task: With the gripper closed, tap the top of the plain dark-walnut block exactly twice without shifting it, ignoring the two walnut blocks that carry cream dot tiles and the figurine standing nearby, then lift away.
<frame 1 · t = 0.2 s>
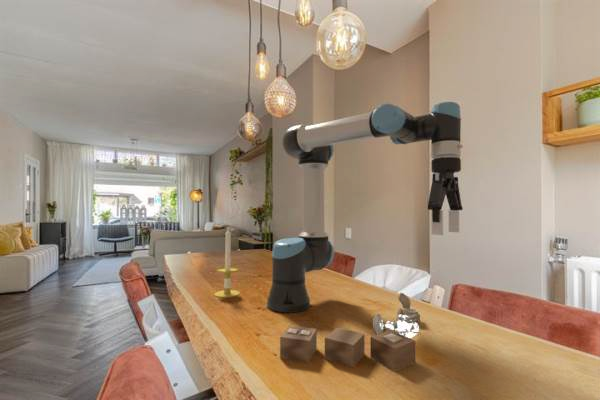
hand: (446, 233, 85), 28 cm above the table, fingers open, 13 cm apart
bone: (408, 323, 92), on the table
figurine: (395, 337, 82), on the table
dot block one: (392, 360, 69), on the table
dot block two: (298, 354, 72), on the table
plain block: (344, 357, 70), on the table
candle: (227, 294, 121), on the table
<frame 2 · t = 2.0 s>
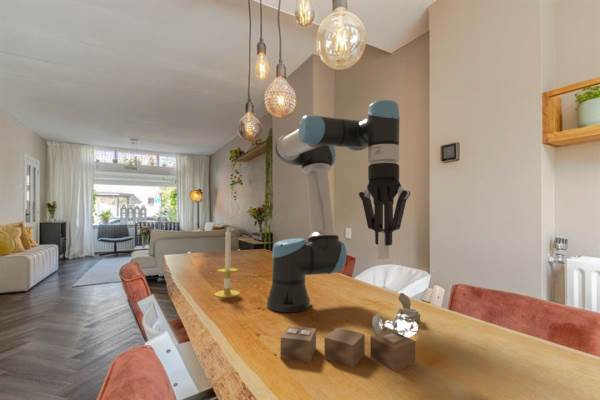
hand: (383, 258, 75), 22 cm above the table, fingers closed
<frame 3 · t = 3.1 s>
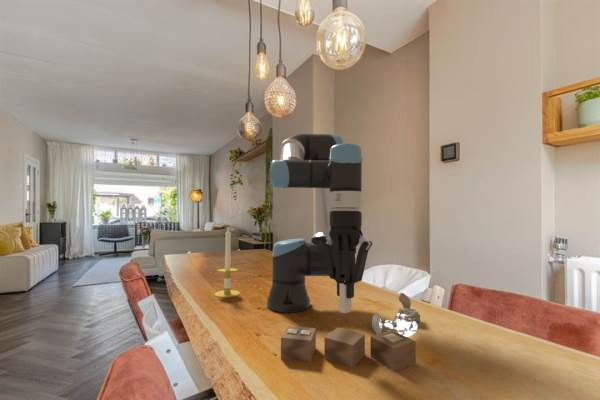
hand: (345, 311, 70), 11 cm above the table, fingers closed
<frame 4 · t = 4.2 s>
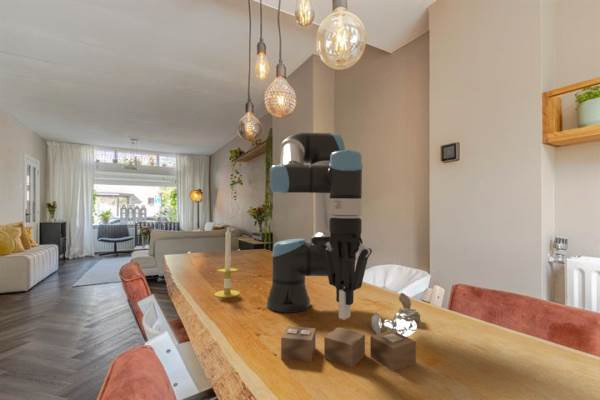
hand: (344, 317, 71), 9 cm above the table, fingers closed
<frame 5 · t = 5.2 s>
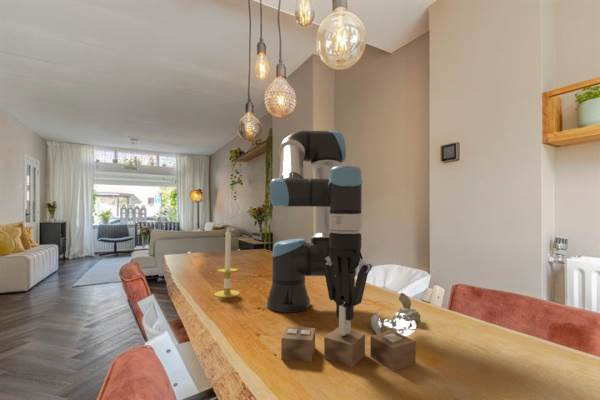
hand: (344, 332, 71), 5 cm above the table, fingers closed
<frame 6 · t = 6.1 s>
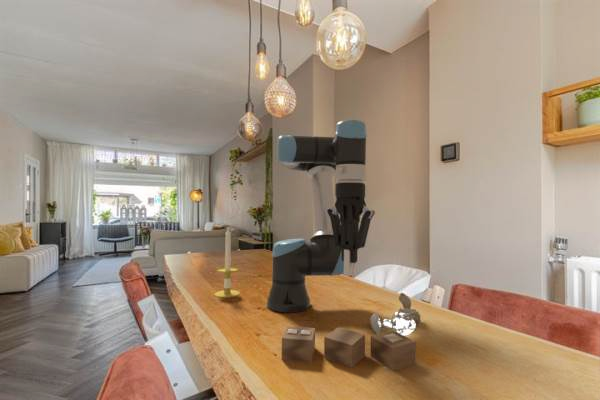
hand: (349, 274, 77), 18 cm above the table, fingers closed
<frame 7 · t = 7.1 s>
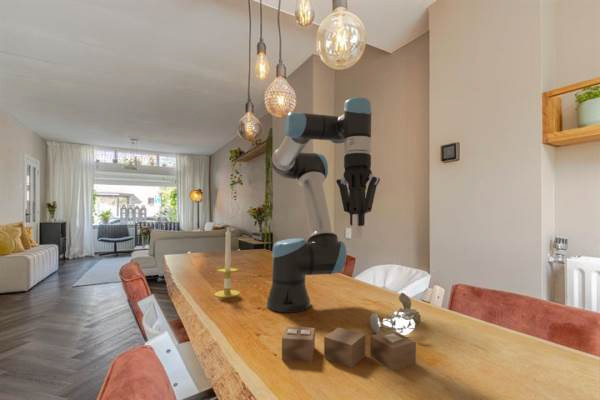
hand: (357, 237, 85), 26 cm above the table, fingers closed
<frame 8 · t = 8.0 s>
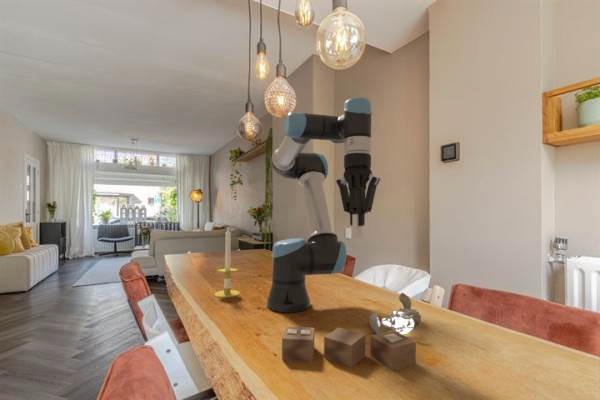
hand: (357, 237, 85), 26 cm above the table, fingers closed
at the end: plain block moved 0.2 cm from its start; plain block tilted 0°; dot block one moved 0.2 cm from its start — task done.
